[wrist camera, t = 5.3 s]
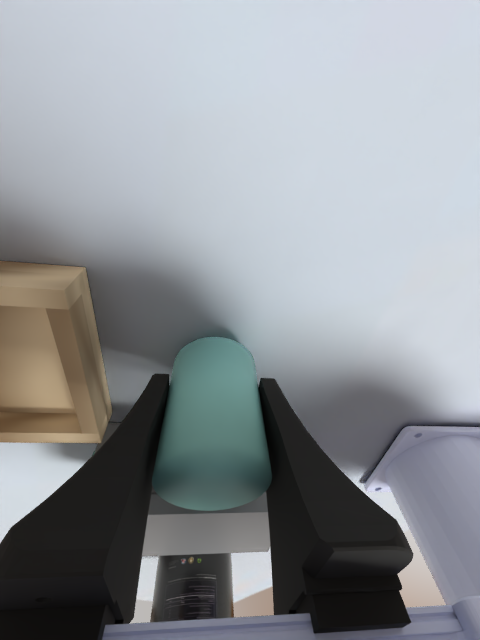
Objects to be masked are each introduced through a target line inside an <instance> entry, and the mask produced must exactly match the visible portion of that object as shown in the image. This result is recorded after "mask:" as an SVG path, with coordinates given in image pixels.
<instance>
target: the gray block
mask: <svg viewBox="0 0 480 640" xmlns="http://www.w3.org/2000/svg"><path fill="white" fill-rule="evenodd" d="M120 424H121V423H108V425H107V428H106V431H105V434H104V436H103V439H102V442H101V443H98V445H97V447H96V450H95V451H94V453H93V455H94V454H95V453H96V452H97V451H98V450H99V449H100V448H101V446H102V445H103V444H104V443H105V442H106V441H107V440H108V439H109V437H110V436H111V435H112V434H113V433H114V431H115V430H116V429H117V428H118V426H119V425H120ZM93 455H92V456H93ZM269 548H270V532H269V520H268V508H267V496H266V491H265V492H264V493H263V494H262V495H261V496H260V497H258V498H257V499H255V500H253V501H251V502H249V503H247V504H244V505H241V506H238V507H234V508H230V509H224V510H214V511H201V510H192V509H186V508H182V507H179V506H176V505H173V504H171V503H169V502H167V501H165V500H164V499H162V498H161V497H160V496H159V495H158V494H157V493H156V492H155V490H154V488H153V487H152V493H151V499H150V505H149V512H148V518H147V525H146V531H145V538H144V545H143V552H142V556H165V555H191V554H217V553H242V552H268V550H269Z"/></svg>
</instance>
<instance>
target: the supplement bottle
mask: <svg viewBox="0 0 480 640" xmlns="http://www.w3.org/2000/svg"><path fill="white" fill-rule="evenodd" d="M218 618H234V610H233V586H232V563H231V553H217V554H191V555H165V556H159V559H158V566H157V573H156V581H155V589H154V596H153V604H152V613H151V620H150V622H166V621H184V620H201V619H218Z"/></svg>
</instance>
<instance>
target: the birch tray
mask: <svg viewBox="0 0 480 640" xmlns="http://www.w3.org/2000/svg"><path fill="white" fill-rule="evenodd" d="M111 414H112V406H111V401H110V396H109V390H108V385H107V380H106V374H105V369H104V364H103V358H102V353H101V347H100V342H99V337H98V331H97V326H96V321H95V315H94V310H93V304H92V299H91V294H90V288H89V283H88V278H87V272H86V267H74V266H61V265H48V264H36V263H23V262H10V261H0V442H21V443H101V442H102V439H103V436H104V434H105V431H106V428H107V425H108V423H109V420H110V417H111Z"/></svg>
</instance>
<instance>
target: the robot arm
mask: <svg viewBox="0 0 480 640" xmlns="http://www.w3.org/2000/svg"><path fill="white" fill-rule="evenodd" d="M168 392H169V374H154V375H152V377H151V379H150V381H149V383H148V385H147V386H146V388H145V390H144V391H143V393H142V395H141V396H140V398H139V399H138V401H137V402H136V403H135V405H134V406H133V408H132V409H131V411H130V412H129V413H128V415H127V416H126V417H125V419H124V420H123V421H122V423H121V424H120V425H119V426H118V428H117V429H116V430H115V431H114V433H113V434H112V435H111V436H110V437H109V439H108V440H107V441H106V442H105V443H104V444H103V445H102V446H101V448H100V449H99V450H98V451H97V452H96V453H95V454H94V455H93V456H92V457H91V458H90V459H89V460H88V461H87V462H86V463H85V464H84V465H83V466H82V467H81V468H80V469H79V470H78V471H77V472H76V473H75V474H74V475H73V476H72V477H71V478H70V479H68V480H67V481H66V482H65V483H64V484H63V485H62V486H61V487H60V488H58V489H57V490H56V491H55V492H54V493H53V494H52V495H51V496H49V497H48V498H47V499H46V500H45V501H44V502H42V503H41V504H40V505H39V506H37V507H36V508H35V509H34V510H32V511H31V512H30V513H29V514H27V515H26V516H25V517H24V518H22V519H21V520H20V521H19V522H17V523H16V524H15V525H14V526H12V527H11V528H10V530H9V531H8V533H7V534H6V536H5V537H4V539H3V540H2V542H1V543H0V640H480V427H445V426H407V427H405V428H403V429H402V431H401V432H400V433H399V435H398V436H397V438H396V439H395V441H394V442H393V444H392V445H391V447H390V448H389V450H388V451H387V452H386V454H385V455H384V457H383V458H382V460H381V461H380V463H379V464H378V466H377V467H376V469H375V470H374V472H373V473H372V474H371V476H370V477H369V479H368V480H367V482H366V483H365V485H364V487H365V489H366V491H367V492H392V493H393V495H394V497H395V500H396V502H397V504H398V506H399V508H400V510H401V512H402V514H403V516H404V518H405V520H406V522H407V524H408V526H409V529H410V531H411V533H412V535H413V537H414V539H415V541H416V543H417V545H418V547H419V549H420V551H421V553H422V556H423V557H424V560H425V562H426V564H427V566H428V568H429V570H430V572H431V574H432V576H433V578H434V580H435V582H436V585H437V587H438V589H439V590H440V593H441V595H442V597H443V599H444V601H445V603H446V605H443V606H425V607H410V608H406V607H405V605H404V602H403V600H402V597H401V595H400V592H399V590H401V589H402V585H401V583H400V580H399V578H398V575H397V574H398V573H399V572H400V571H401V570H402V569H404V568H405V567H406V566H407V565H408V564H409V563H410V562H411V561H412V558H413V552H412V550H411V548H410V546H409V543H408V541H407V539H406V537H405V535H404V533H403V531H402V529H401V528H400V526H399V524H398V522H397V520H396V519H394V518H393V517H392V516H391V515H389V514H388V513H387V512H386V511H385V510H383V509H382V508H381V507H380V506H379V505H377V504H376V503H375V502H374V501H372V500H371V499H370V498H369V497H368V496H367V495H366V494H365V493H363V492H362V491H361V490H360V489H359V488H358V487H357V486H356V485H355V484H354V483H353V482H352V481H351V480H350V479H349V478H348V477H347V476H346V475H345V474H344V473H343V472H342V471H341V470H340V469H339V468H338V467H337V466H336V465H335V464H334V463H333V462H332V461H331V459H330V458H329V457H328V456H327V455H326V454H325V453H324V451H323V450H322V449H321V448H320V447H319V446H318V444H317V443H316V442H315V441H314V439H313V438H312V437H311V435H310V434H309V433H308V431H307V430H306V429H305V427H304V426H303V424H302V423H301V422H300V420H299V419H298V417H297V416H296V414H295V412H294V411H293V409H292V408H291V406H290V405H289V403H288V401H287V400H286V398H285V396H284V395H283V393H282V391H281V389H280V388H279V386H278V384H277V382H276V380H275V379H271V378H261V379H260V384H259V395H260V401H261V407H262V414H263V420H264V427H265V433H266V439H267V446H268V452H269V459H270V465H271V471H272V481H271V484H270V486H269V488H268V489H267V490H266V496H267V508H268V520H269V532H270V547H271V563H272V581H273V602H274V615H270V616H253V617H237V618H236V617H235V618H218V619H201V620H184V621H166V622H150V623H133V624H129V623H130V622H131V620H132V619H133V618H134V610H135V602H136V595H137V588H138V581H139V573H140V566H141V559H142V552H143V545H144V538H145V531H146V525H147V518H148V512H149V505H150V499H151V493H152V487H153V485H152V477H153V471H154V466H155V461H156V455H157V450H158V445H159V439H160V434H161V429H162V423H163V418H164V413H165V408H166V402H167V397H168Z"/></svg>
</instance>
